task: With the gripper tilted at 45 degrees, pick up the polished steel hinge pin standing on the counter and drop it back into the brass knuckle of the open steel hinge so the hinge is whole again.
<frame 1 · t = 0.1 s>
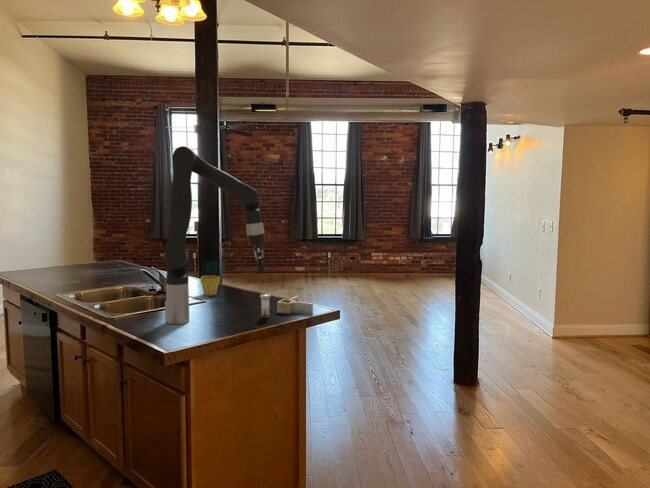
hand: (261, 269, 215), 22 cm above the countertop, tool pointing down, fingers open, 8 cm apart
plant pot: (210, 294, 270), on the countertop
hinge pin: (265, 316, 221), on the countertop
hinge: (286, 311, 231), on the countertop
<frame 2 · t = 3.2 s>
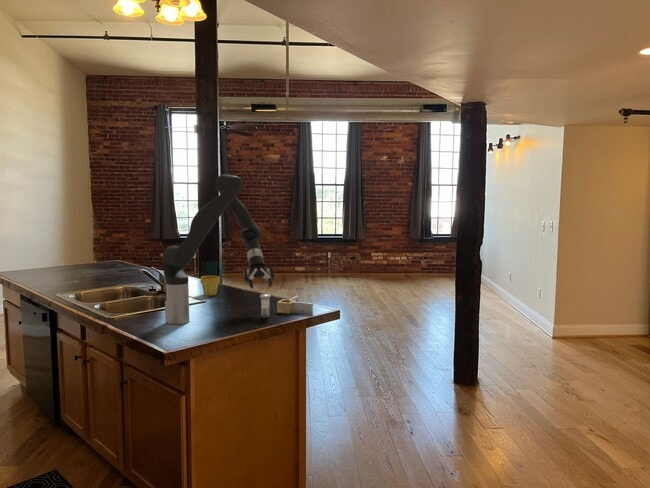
hand: (261, 287, 228), 12 cm above the countertop, tool tilted 45°, fingers open, 8 cm apart
nothing on the countertop moved.
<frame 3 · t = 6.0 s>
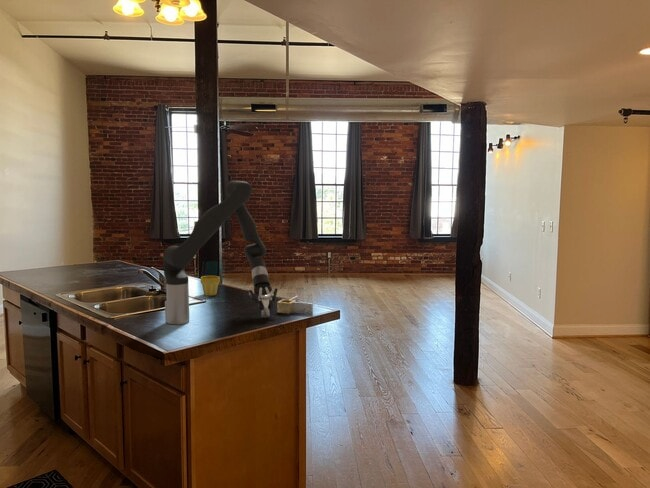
hand: (266, 308, 219), 4 cm above the countertop, tool tilted 45°, fingers closed on hinge pin, 3 cm apart
hinge pin: (265, 316, 221), on the countertop, touching gripper
everything else where it was.
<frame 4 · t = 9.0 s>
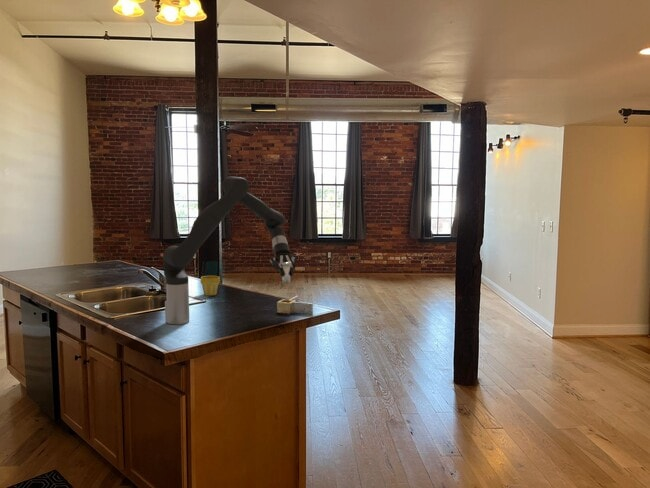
hand: (287, 275, 227), 18 cm above the countertop, tool tilted 45°, fingers closed on hinge pin, 3 cm apart
hinge pin: (286, 283, 229), point 14 cm above the countertop, touching gripper
everything else where it was.
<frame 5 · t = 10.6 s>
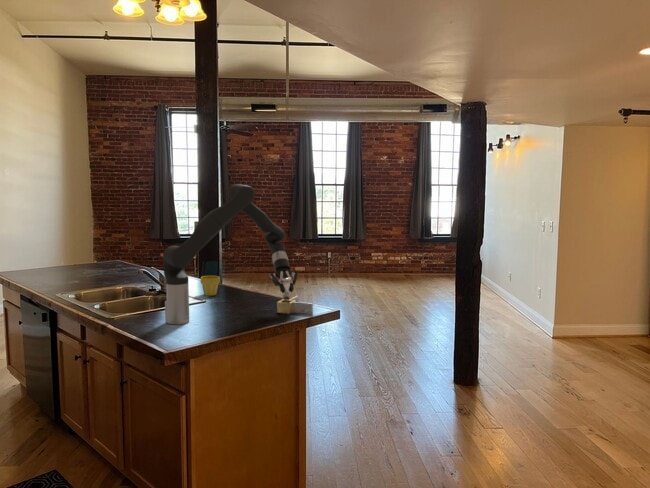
hand: (287, 291, 228), 10 cm above the countertop, tool tilted 45°, fingers closed on hinge pin, 3 cm apart
hinge pin: (286, 299, 230), point 6 cm above the countertop, touching gripper
everything else where it was.
when the fingers open (6 cm above the countertop, at t = 12.0 s): hinge pin drops 1 cm, resting in hinge.
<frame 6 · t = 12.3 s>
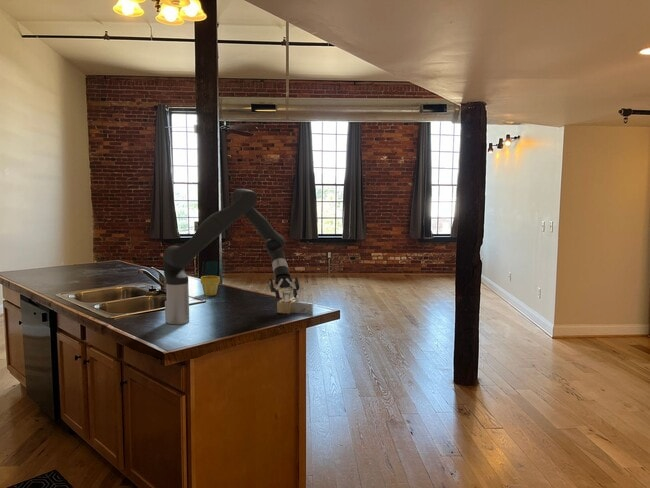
hand: (287, 297, 229), 7 cm above the countertop, tool tilted 45°, fingers open, 7 cm apart
hinge pin: (286, 311, 231), resting in hinge
everything else where it was.
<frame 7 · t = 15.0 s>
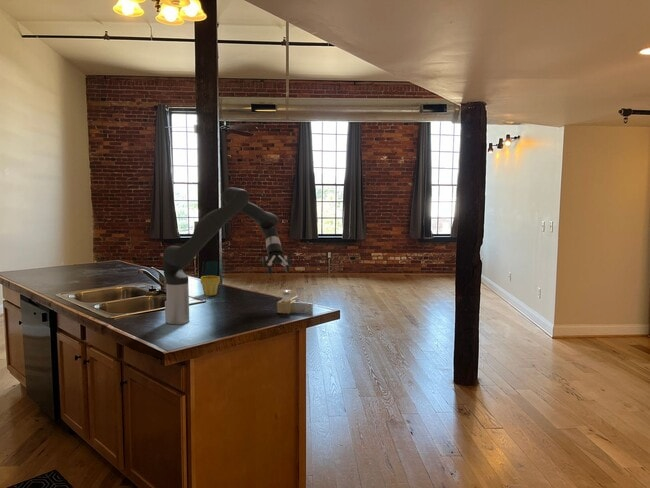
hand: (279, 273, 240), 17 cm above the countertop, tool tilted 45°, fingers open, 8 cm apart
nothing on the countertop moved.
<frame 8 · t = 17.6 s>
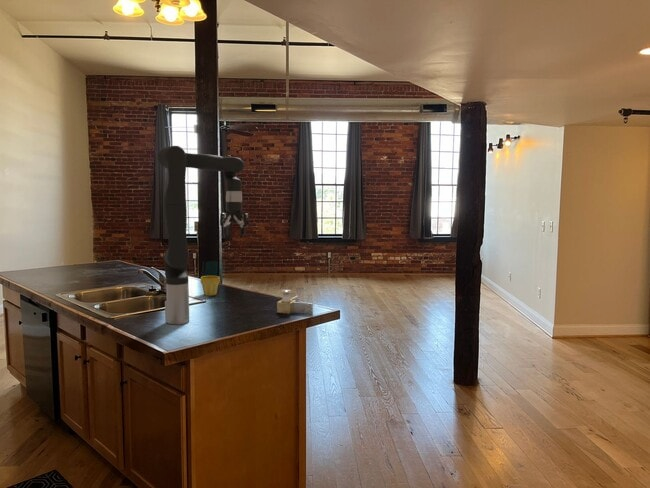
hand: (234, 235, 230), 36 cm above the countertop, tool pointing down, fingers open, 8 cm apart
nothing on the countertop moved.
at the end: hinge pin 0.6 cm off-centre on the hinge, point 0.0 cm above the hinge's base; hinge pin tilted 0°; the gripper is holding nothing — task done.
